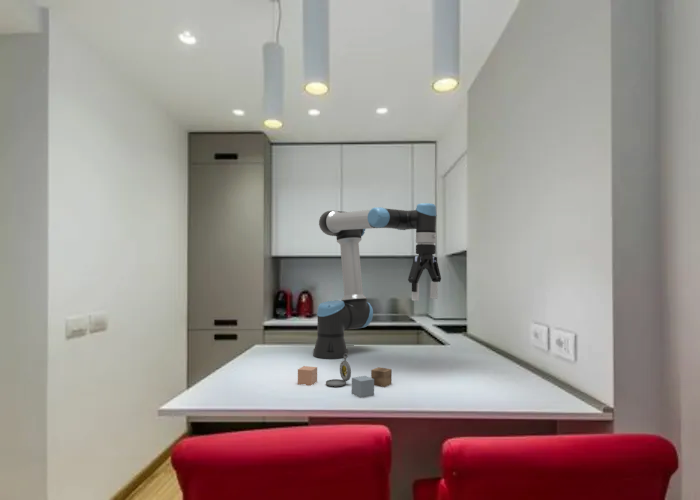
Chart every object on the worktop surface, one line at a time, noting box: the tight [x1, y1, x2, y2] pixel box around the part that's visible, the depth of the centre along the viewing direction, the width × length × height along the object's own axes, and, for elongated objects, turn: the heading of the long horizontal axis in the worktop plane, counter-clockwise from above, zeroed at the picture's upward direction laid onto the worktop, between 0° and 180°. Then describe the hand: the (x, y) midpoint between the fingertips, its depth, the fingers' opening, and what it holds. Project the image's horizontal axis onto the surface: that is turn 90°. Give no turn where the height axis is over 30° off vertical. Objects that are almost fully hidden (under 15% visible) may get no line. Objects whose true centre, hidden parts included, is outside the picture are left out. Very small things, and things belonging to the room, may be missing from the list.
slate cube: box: [351, 375, 375, 399], centre depth 139 cm, size 5×5×5 cm
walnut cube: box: [370, 366, 393, 388], centre depth 150 cm, size 5×5×5 cm
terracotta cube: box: [297, 365, 318, 386], centre depth 152 cm, size 5×5×5 cm
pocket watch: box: [325, 353, 352, 388], centre depth 150 cm, size 8×8×10 cm
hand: (424, 299), depth 172 cm, fingers open, 13 cm apart
